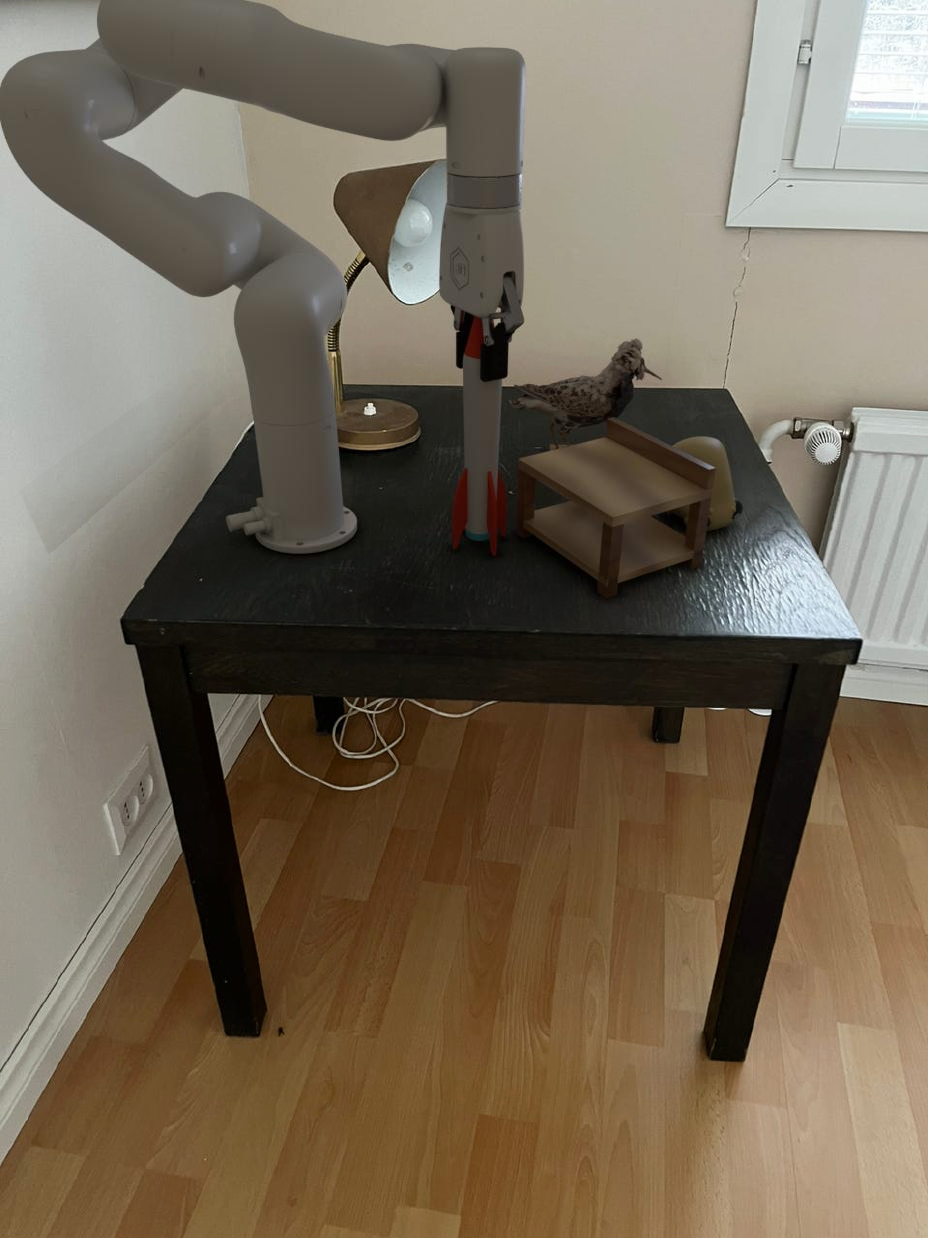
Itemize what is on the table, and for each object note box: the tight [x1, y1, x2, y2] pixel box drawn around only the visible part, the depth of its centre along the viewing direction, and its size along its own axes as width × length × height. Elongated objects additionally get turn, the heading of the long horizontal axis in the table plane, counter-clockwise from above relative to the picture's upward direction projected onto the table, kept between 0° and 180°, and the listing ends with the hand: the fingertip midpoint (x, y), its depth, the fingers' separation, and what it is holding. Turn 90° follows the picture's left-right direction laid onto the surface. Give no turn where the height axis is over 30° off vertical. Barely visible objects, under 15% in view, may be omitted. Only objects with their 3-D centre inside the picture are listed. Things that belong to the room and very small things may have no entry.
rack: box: [515, 417, 716, 599], centre depth 111 cm, size 14×18×12 cm
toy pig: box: [669, 436, 744, 532], centre depth 119 cm, size 10×12×11 cm
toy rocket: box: [451, 316, 508, 557], centre depth 108 cm, size 6×6×30 cm
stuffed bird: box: [509, 337, 663, 451], centre depth 132 cm, size 10×20×17 cm, turn 106°
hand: (481, 370), depth 104 cm, fingers closed on toy rocket, 4 cm apart
